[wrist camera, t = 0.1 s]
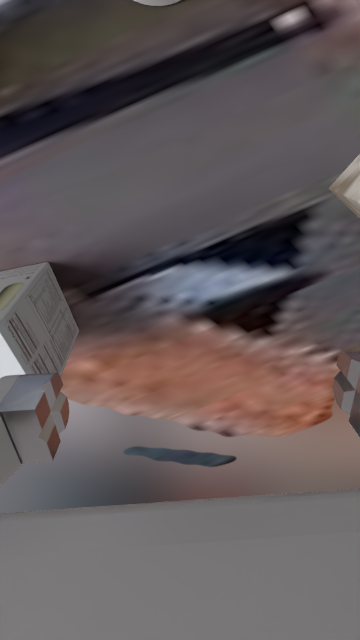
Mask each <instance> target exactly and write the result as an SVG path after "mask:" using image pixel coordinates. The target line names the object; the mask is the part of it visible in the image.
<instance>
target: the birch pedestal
mask: <svg viewBox="0 0 360 640" xmlns="http://www.w3.org/2000/svg"><path fill="white" fill-rule="evenodd" d="M329 189H330V190H331V191H332V192H333V193H334V194H335V195H336V196H337V197H338V198H339V199H340V200H341V201H342V202H343V203H344V204H345V205H346V206H347V207H348V208H349V209H350V210H351V211H352V212H354V213H355V214H356V215H357V216H358V217H359V218H360V154H359V155H358V156H357V157H356V159H355V160H354V161H353V162H352V163H351V164H350V165H349V166H348V167H347V168H346V170H345V171H344V172H343V173H342V174H341V175H340V176H339V177H338V178H337V179H336V181H335V182H334V183H333V184H332V185H331V186H330V187H329Z"/></svg>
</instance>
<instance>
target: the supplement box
mask: <svg viewBox="0 0 360 640" xmlns="http://www.w3.org/2000/svg"><path fill="white" fill-rule="evenodd" d="M78 333H79V329H78V327H77V324H76V322H75V320H74V318H73V315H72V313H71V311H70V309H69V306H68V304H67V302H66V300H65V297H64V295H63V293H62V291H61V288H60V286H59V284H58V282H57V280H56V277H55V275H54V273H53V271H52V268H51V266H50V264H49V263H48V262H45V263H40V264H35V265H30V266H25V267H20V268H15V269H10V270H5V271H1V272H0V379H1V378H2V377H4V376H8V375H23V374H42V373H58V374H59V375H60V377H61V375H62V372H63V370H64V367H65V365H66V362H67V360H68V358H69V355H70V353H71V350H72V348H73V345H74V343H75V340H76V338H77V335H78Z"/></svg>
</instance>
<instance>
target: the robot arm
mask: <svg viewBox="0 0 360 640" xmlns="http://www.w3.org/2000/svg"><path fill="white" fill-rule="evenodd" d="M134 1H136V2H139V3H141V4H145V5H150V6H164V5H170V4H173V3H176V2H179V1H181V0H134ZM337 366H338V368H339V369H340V372H339V373H338V374H337V375H336V376H335V377H334V382H333V392H334V397H335V400H336V402H337V404H338V406H339V407H340V409H341V410H343V411H344V412H346V413H348V414H350V417H349V422H350V424H351V425H352V427H353V428H354V430H355V431H356V433H357V434H358V436H359V437H360V351H358V352H346V353H340V355H339V357H338V360H337ZM62 386H63V383H62V380H61V377H60V375H59V374H58V373H42V374H23V375H8V376H4V377H2V378H1V379H0V486H2V485H3V483H5V482H6V481H7V480H8V479H9V478H10V477H11V476H12V475H13V474H14V473H15V472H16V471H17V470H18V469H19V468H20V467H21V464H26V463H36V462H46V461H53V459H54V457H55V454H56V452H57V449H58V447H59V444H60V438H59V434H60V433H61V432H62V431H63V430H64V429H65V428H66V425H67V423H68V417H69V404H68V400H67V396H65V395H64V394H63V393H62V392H60V390H61V388H62ZM0 640H360V489H348V490H334V491H333V490H332V491H319V492H304V493H288V494H274V495H260V496H245V497H232V498H216V499H203V500H188V501H175V502H174V501H173V502H160V503H145V504H130V505H116V506H102V507H87V508H72V509H59V510H45V511H29V512H16V513H15V512H14V513H1V514H0Z"/></svg>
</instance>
